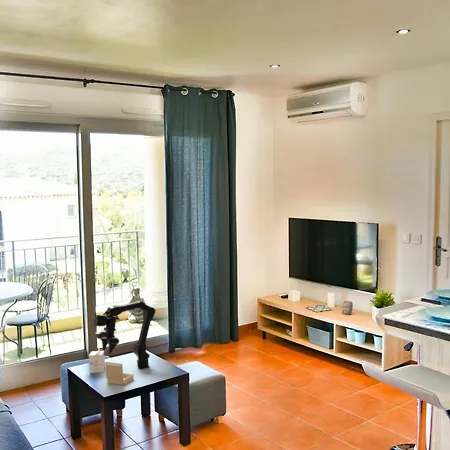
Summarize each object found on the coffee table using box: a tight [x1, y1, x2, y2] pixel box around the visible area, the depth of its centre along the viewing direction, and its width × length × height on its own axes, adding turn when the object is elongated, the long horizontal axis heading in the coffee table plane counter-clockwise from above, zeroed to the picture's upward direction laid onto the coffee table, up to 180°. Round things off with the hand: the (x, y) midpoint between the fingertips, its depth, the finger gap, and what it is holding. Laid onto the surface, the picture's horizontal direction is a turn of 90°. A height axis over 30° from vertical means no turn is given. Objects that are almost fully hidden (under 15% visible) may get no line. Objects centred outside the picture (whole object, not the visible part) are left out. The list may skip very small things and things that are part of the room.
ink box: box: [88, 348, 106, 374], centre depth 321 cm, size 9×8×13 cm
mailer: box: [106, 372, 135, 386], centre depth 301 cm, size 10×12×3 cm
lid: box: [105, 361, 124, 381], centre depth 295 cm, size 10×12×1 cm
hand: (106, 351), depth 309 cm, fingers open, 9 cm apart
